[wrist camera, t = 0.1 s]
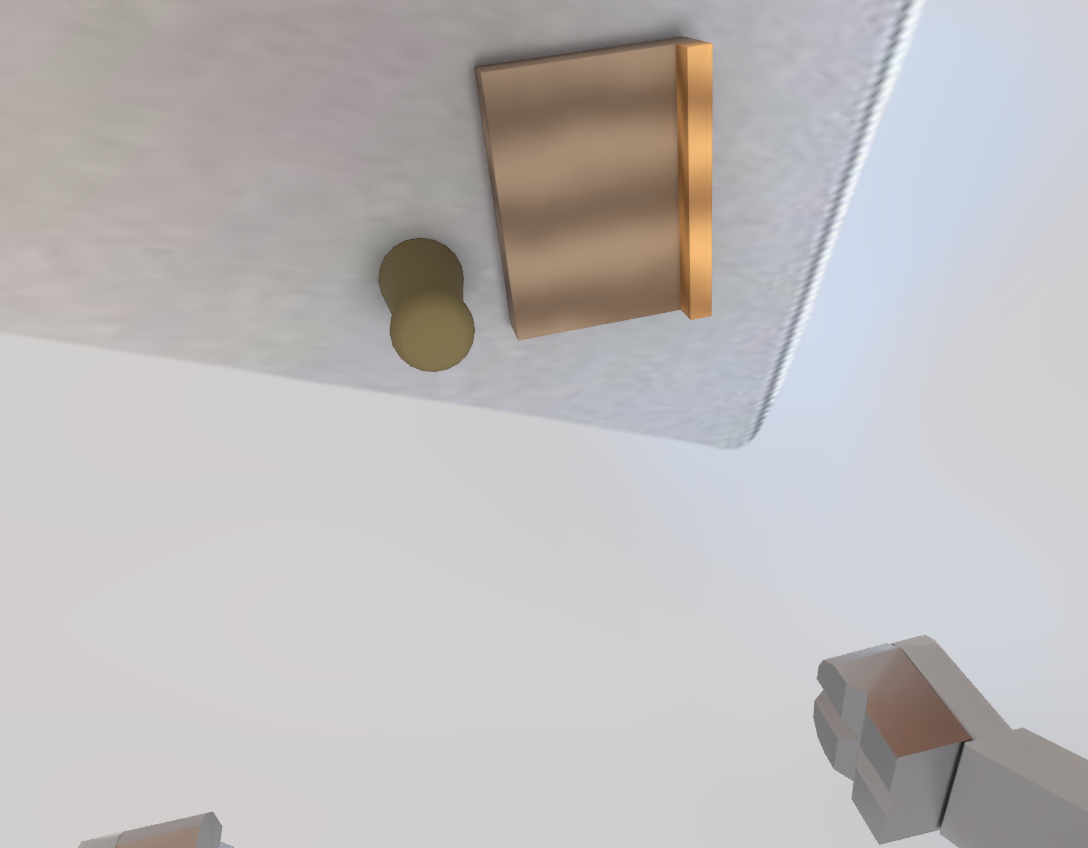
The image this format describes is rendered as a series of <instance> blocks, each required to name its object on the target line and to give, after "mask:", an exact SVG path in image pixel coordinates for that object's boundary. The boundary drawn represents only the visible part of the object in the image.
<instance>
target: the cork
mask: <svg viewBox="0 0 1088 848" xmlns="http://www.w3.org/2000/svg"><path fill="white" fill-rule="evenodd" d="M463 281H464V278H463V272H462V266H461V264H460V262H459V260H458V259H457V257H456V255H455V254H454V253H453V252H452V251H451V250H450V249H449V248H448V247H447V246H446V245H443V244H441V243H439V242H437V241H435V240H431V239H424V238H417V239H411V240H406V241H404V242H402V243H401V244H399V245H397V246H395V247H394V248H393V249H392V250H391V251H390V252H389V253H388V254H387V255H386V256H385V258H384V260H383V262H382V265H381V267H380V272H379V285H380V289H381V293H382V295H383V297H384V299H385V301H386V303H387V305H388V307H389V309H390V311H391V314H392V317H391V323H390V336H391V340H392V345H393V347H394V348H395V350H396V352H397V353H398V355H399V356H400V357H401V359H403V360H404V361H405V362H406V363H407V364H409V365H410V366H411V367H414V368H416V369H419V370H422V371H430V372H437V371H442V370H447V369H449V368H451V367H453V366H455V365H457V364H458V363H459V362H460V361H461V360H463V359H464V358H465V357H466V356H467V354H468V352H469V350H470V348H471V346H472V344H473V339H474V333H475V327H474V321H473V317H472V314H471V313H470V311H469V309H468V307H467V305H466V304H465V303H464V302H463Z"/></svg>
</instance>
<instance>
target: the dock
mask: <svg viewBox="0 0 1088 848" xmlns="http://www.w3.org/2000/svg"><path fill="white" fill-rule="evenodd" d="M712 45H713V43H709V42H705V41H700V40H696V39H691V38H687V37H678V38H671V39H664V40H657V41H651V42H644V43H637V44H630V45H623V46H616V47H609V48H603V49H596V50H589V51H582V52H575V53H568V54H562V55H555V56H548V57H541V58H534V59H527V60H520V61H514V62H507V63H500V64H493V65H486V66H479V67H475V74H476V81H477V88H478V95H479V102H480V109H481V116H482V123H483V130H484V137H485V144H486V151H487V158H488V165H489V173H490V180H491V187H492V194H493V201H494V208H495V215H496V222H497V229H498V236H499V243H500V250H501V257H502V264H503V271H504V278H505V285H506V292H507V299H508V306H509V313H510V320H511V325H512V328H513V330H514V332H515V335H516V337H517V339H518V340H523V339H529V338H534V337H539V336H544V335H550V334H555V333H560V332H565V331H571V330H576V329H581V328H587V327H592V326H597V325H602V324H608V323H613V322H618V321H623V320H629V319H634V318H639V317H644V316H650V315H655V314H660V313H665V312H671V311H676V310H682V311H683V312H684V313H685V315H686V316H687V317H688V318H689V319H690V320H693V319H698V318H703V317H708V316H712Z"/></svg>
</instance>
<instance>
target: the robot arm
mask: <svg viewBox="0 0 1088 848" xmlns="http://www.w3.org/2000/svg"><path fill="white" fill-rule="evenodd" d="M817 680H818V681H819V683H820V684H821V686H822V688H823V689H824V690H823V691H822V692H821V694H820V695H819V696H818V697H817V698H816V700H815V702H814V716H813V718H814V722H815V727H816V731H817V736H818V739H819V741H820V743H821V746H822V748H823V750H824V753H825V754H826V756H827V758H828V760H829V761H830V763H831V765H832V767H833V768H834V769H835V770H836V771H838V772H840V773H841V774H843V775H844V776H846V777H848V778H849V779H851V780H853V790H852V800H853V802H854V804H855V805H856V807H857V809H858V810H859V812H860V814H861V815H862V817H863V819H864V820H865V822H866V824H867V825H868V827H869V829H870V830H871V832H872V833H873V835H874V837H875V839H876V840H877V842H878V843H879V844H884V843H888V842H892V841H896V840H900V839H904V838H909V837H912V836H916V835H921V834H924V833H928V832H933V831H937V830H940V834H941V835H942V836H944V837H945V838H946V839H948V840H949V841H951V842H952V843H953V844H955V845H956V846H957V847H959V848H1088V760H1087V759H1085V758H1082V757H1081V756H1078V755H1076V754H1075V753H1072V752H1071V751H1069V750H1067V749H1065V748H1063V747H1061V746H1059V745H1057V744H1055V743H1053V742H1051V741H1049V740H1047V739H1045V738H1043V737H1041V736H1039V735H1037V734H1035V733H1033V732H1031V731H1029V730H1027V729H1025V728H1019V729H1014V730H1012V729H1011V728H1010V726H1009V725H1008V724H1007V723H1006V722H1005V721H1004V719H1003V718H1002V717H1001V716H1000V715H999V714H998V713H997V711H996V710H995V709H994V708H993V707H992V706H991V704H990V703H989V702H988V701H987V700H986V699H985V698H984V696H983V695H982V694H981V693H980V692H979V691H978V690H977V688H976V687H975V686H974V685H973V684H972V683H971V681H970V680H969V679H968V678H967V677H966V676H965V674H964V673H963V672H962V671H961V670H960V669H959V668H958V666H957V665H956V664H955V663H954V662H953V661H952V660H951V658H950V657H949V656H948V655H947V654H946V653H945V651H944V650H943V649H942V648H941V647H940V646H939V645H938V643H937V642H936V641H935V640H934V639H932V638H930V637H928V636H926V635H924V636H918V637H914V638H910V639H907V640H903V641H899V642H895V643H892V644H883V645H879V646H875V647H872V648H867V649H864V650H860V651H856V652H852V653H848V654H845V655H841V656H838V657H833V658H830V659H826V660H823V661H822V663H821V664H820V665H819V668H818V675H817ZM221 832H222V825H221V824H220V822H219V820H218V819H217V817H216V816H215V815H214V812H209V813H205V814H200V815H196V816H191V817H187V818H182V819H178V820H174V821H169V822H165V823H161V824H156V825H151V826H147V827H143V828H139V829H134V830H129V831H124V832H120V833H116V834H111V835H107V836H103V837H99V838H96V839H91V840H87V841H82V842H81V844H80V845H79V847H78V848H234V847H232V846H230V845H227V844H225V843H222V842H220V839H221Z"/></svg>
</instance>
